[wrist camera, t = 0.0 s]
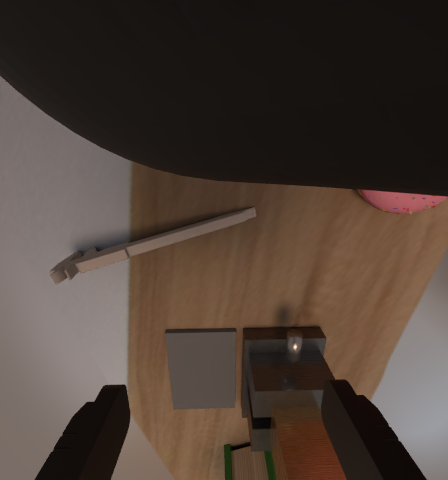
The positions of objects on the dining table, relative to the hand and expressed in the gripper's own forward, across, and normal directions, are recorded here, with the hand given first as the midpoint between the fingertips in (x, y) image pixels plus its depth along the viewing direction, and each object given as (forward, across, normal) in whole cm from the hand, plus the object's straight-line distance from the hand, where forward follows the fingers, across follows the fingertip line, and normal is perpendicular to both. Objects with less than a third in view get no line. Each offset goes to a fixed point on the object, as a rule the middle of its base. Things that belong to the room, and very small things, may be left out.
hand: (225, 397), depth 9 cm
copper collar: (+11, -8, +18) cm, 23 cm away
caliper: (+18, +6, -3) cm, 19 cm away
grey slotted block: (+18, -8, +16) cm, 26 cm away
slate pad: (+18, +3, +17) cm, 25 cm away
